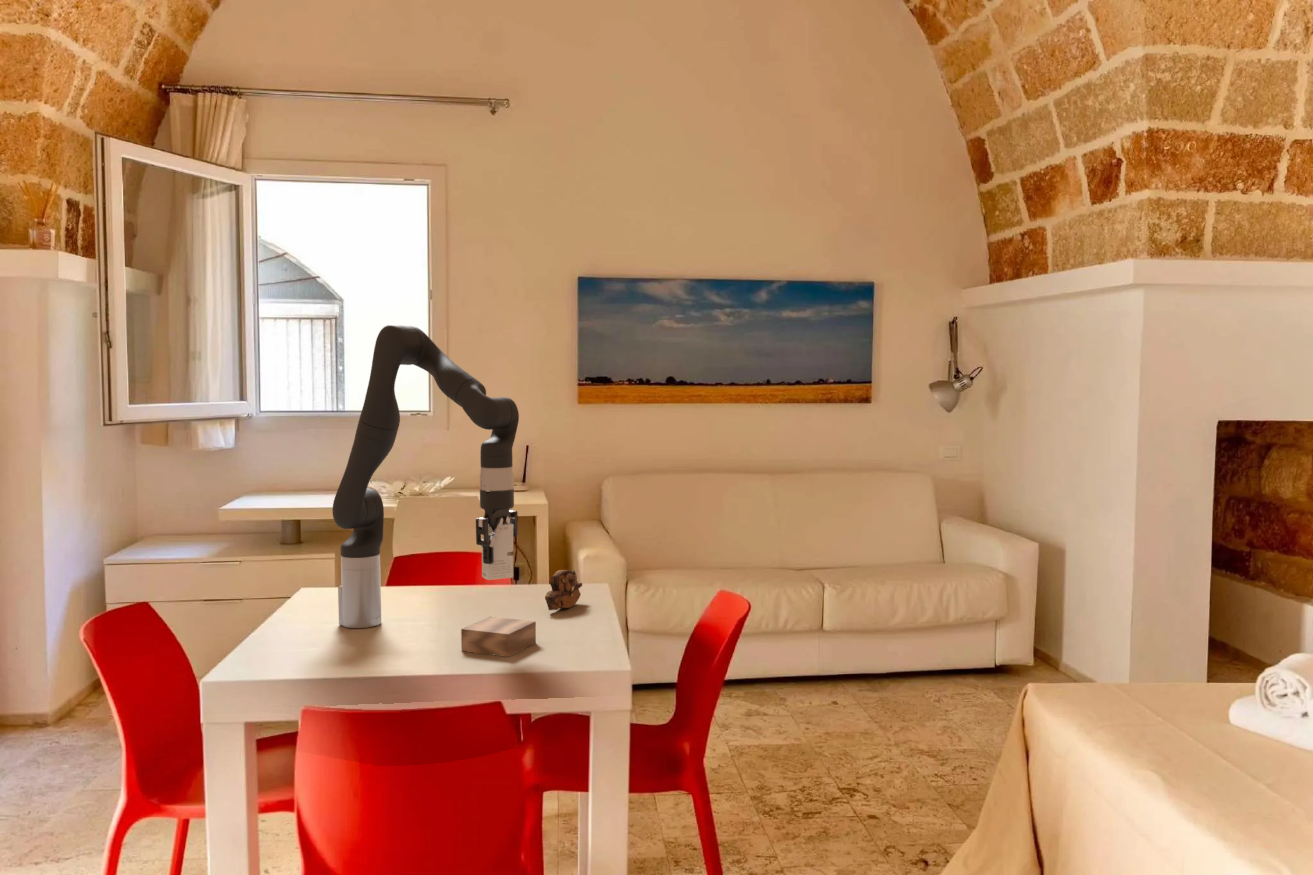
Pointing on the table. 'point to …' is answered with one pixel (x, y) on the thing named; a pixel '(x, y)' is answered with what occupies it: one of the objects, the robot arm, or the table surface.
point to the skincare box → (500, 555)
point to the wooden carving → (563, 590)
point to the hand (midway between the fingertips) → (497, 560)
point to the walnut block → (498, 636)
